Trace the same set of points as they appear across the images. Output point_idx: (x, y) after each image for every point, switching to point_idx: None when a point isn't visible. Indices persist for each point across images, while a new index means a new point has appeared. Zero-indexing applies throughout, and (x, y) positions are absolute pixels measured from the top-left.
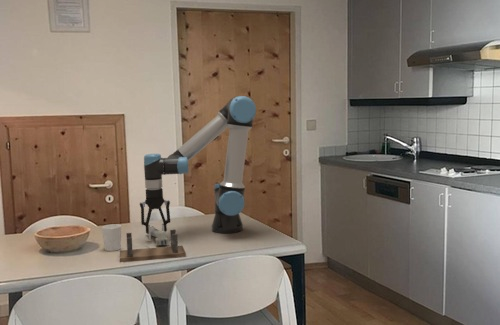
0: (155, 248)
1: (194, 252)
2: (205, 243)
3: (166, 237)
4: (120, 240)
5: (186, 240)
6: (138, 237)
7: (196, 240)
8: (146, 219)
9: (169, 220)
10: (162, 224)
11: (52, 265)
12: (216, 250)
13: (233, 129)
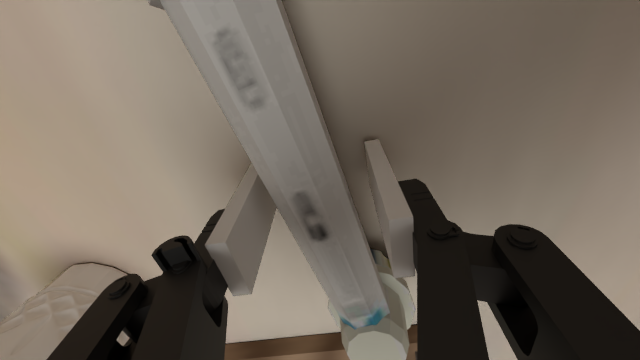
0: (340, 358)
1: (508, 356)
2: (634, 251)
3: (404, 295)
4: (119, 339)
5: (544, 173)
6: (107, 12)
7: (617, 181)
8: (151, 338)
9: (526, 314)
10: (397, 252)
11: None
12: None
13: None
